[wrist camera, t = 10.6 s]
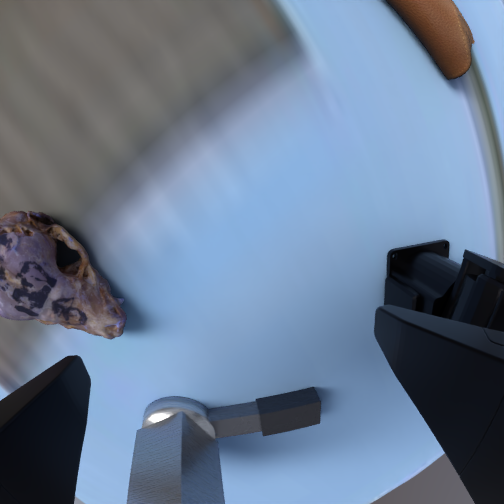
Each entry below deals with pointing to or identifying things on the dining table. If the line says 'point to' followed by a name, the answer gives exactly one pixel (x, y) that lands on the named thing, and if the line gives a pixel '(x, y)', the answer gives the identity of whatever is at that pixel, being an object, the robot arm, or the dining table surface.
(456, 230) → the dining table surface
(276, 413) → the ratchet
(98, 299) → the skull
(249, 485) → the dining table surface
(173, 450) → the socket
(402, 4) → the sunglasses case
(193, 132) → the dining table surface
